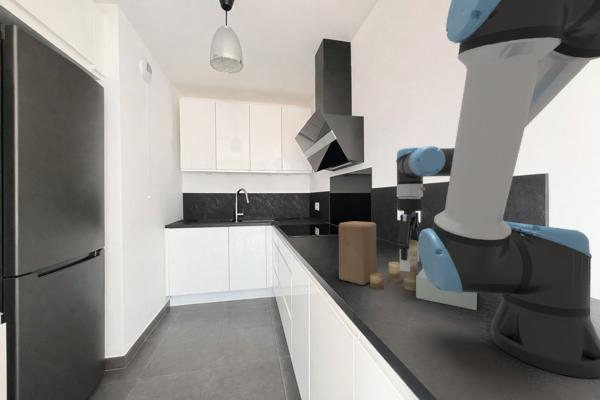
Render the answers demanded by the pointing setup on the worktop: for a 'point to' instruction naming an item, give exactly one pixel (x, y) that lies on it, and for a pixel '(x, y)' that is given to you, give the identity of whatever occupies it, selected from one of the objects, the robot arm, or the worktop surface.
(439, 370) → the worktop surface
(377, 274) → the dowel short
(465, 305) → the socket block
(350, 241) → the wooden block
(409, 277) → the dowel long
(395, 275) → the dowel mid
